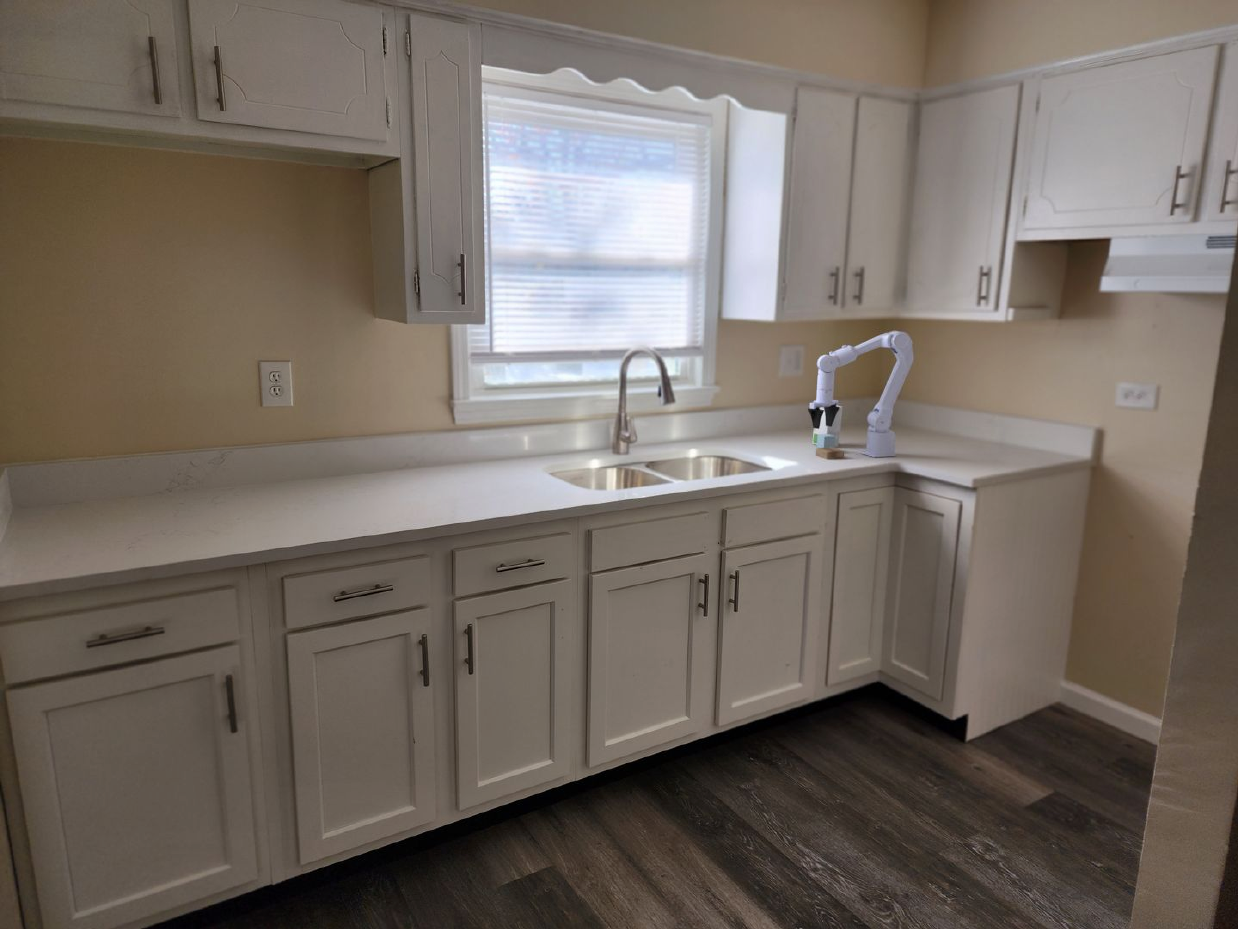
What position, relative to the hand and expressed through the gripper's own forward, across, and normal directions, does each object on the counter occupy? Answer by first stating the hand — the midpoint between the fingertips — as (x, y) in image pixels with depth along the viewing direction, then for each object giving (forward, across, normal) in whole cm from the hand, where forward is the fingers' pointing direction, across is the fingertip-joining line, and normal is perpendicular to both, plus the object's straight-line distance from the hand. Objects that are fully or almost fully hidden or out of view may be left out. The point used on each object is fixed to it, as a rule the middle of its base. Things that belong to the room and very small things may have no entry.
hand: (822, 427), depth 290 cm
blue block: (+10, -5, -2) cm, 11 cm away
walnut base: (+10, +2, +6) cm, 12 cm away
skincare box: (+10, -15, -8) cm, 20 cm away
